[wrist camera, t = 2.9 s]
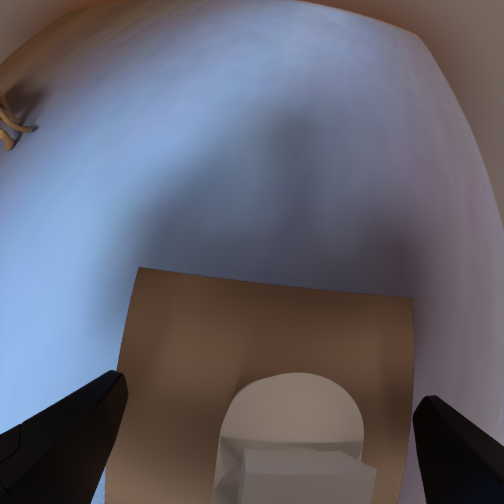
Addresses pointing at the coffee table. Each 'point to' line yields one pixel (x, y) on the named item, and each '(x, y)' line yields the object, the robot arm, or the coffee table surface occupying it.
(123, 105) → the coffee table surface
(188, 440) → the walnut dock
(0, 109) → the lion figurine
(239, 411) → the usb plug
